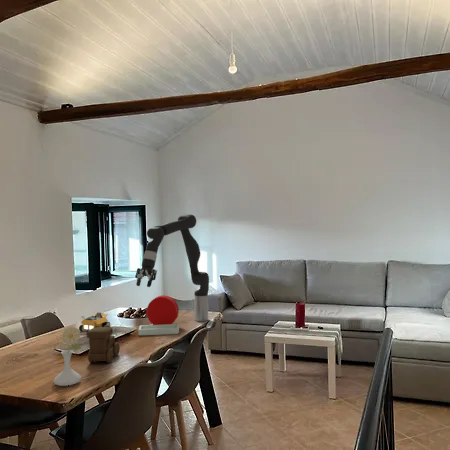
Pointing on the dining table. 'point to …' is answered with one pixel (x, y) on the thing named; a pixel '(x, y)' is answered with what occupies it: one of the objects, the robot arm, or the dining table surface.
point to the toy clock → (162, 310)
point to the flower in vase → (68, 375)
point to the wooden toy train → (102, 344)
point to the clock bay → (159, 329)
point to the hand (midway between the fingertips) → (143, 286)
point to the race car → (94, 322)
